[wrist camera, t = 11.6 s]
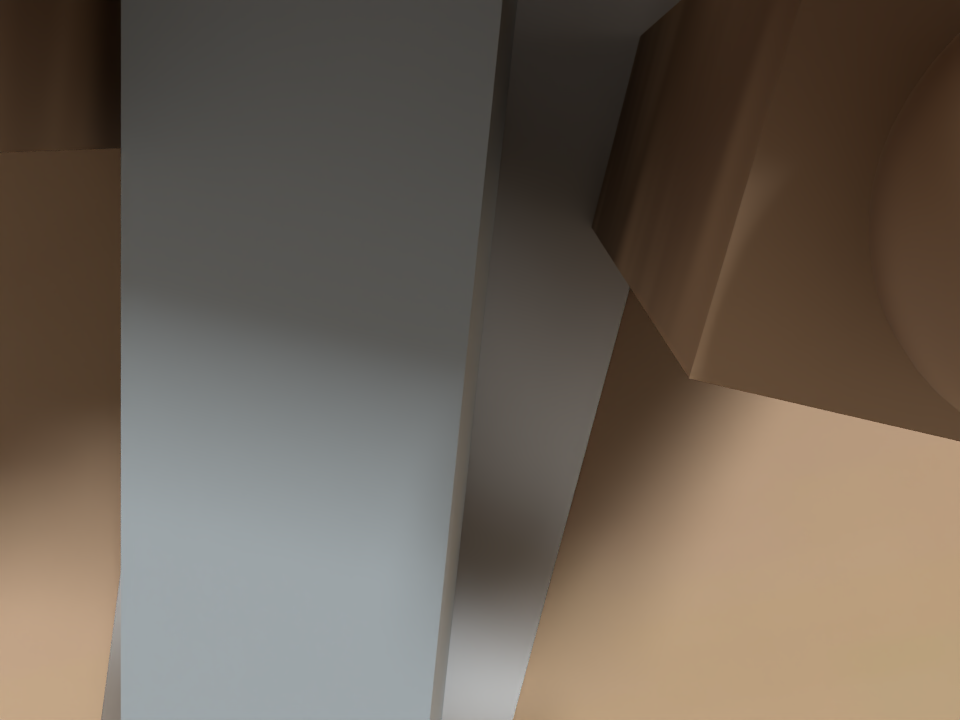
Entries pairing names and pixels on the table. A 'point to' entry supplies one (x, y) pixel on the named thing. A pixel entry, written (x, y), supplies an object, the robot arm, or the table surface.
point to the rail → (300, 347)
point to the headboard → (647, 240)
